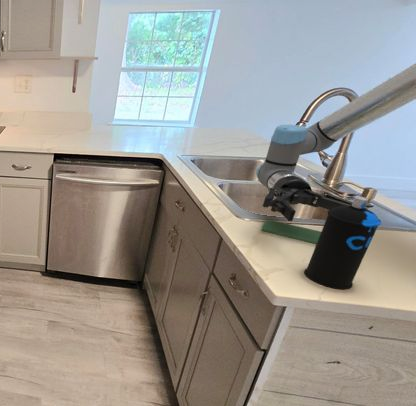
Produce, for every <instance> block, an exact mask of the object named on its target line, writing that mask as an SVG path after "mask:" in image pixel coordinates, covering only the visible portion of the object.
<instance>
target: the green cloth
mask: <svg viewBox="0 0 416 406" xmlns="http://www.w3.org/2000/svg"><path fill="white" fill-rule="evenodd" d="M260 230H261V232H265V233H269V234H274V235H278V236H282V237H285V238H289V239H294V240H299V241H302V242H307V243H311V244H314V245H316V244H317V242H318V239H319V237H320V234H321V231H322V230H321V231H320V230H315V229H311V228H307V227H303V226H299V225H294V224H289V223H285V222H282V221H277V220H272V219H268V218H266V219H265V220H264V223H263V224H262V227H261V229H260Z"/></svg>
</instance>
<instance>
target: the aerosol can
mask: <svg viewBox="0 0 416 406" xmlns="http://www.w3.org/2000/svg"><path fill="white" fill-rule="evenodd" d="M368 201H369V198H366V197H364V196H354V198H353V201H352V202H353V203H352V205H350V206H349V205H346V206H339V207H336V208H333V209H330V210H327V217H326V219H325V221H324V224H323V227H322V229H321V234H320V237H319V239H318V242H317V244H315V247H314V250H313V252H312V255H311V257H310V260H309V262H308V265H307V266H306V268H305V269H304V275H305V276H306V278H308V279H309V280H310V281H312V282H314V283H316V284H319V285H321V286H324V287H327V288H331V289H336V290H348V289H351V288H352V287H353V281H354V279H355V277H356V275H357V273H358V270H359V269H360V267H361V264H362V262H363V259H364V258H365V255H366V253H367V251H368V249H369V247H370V244H371V242H372V240H373V237H374V236H375V233H376V231H377V229H378V227H379V226H381V225H382V221H381V219H380V218H379V217H378V216H377V214H376V213H374V212H373V211H371V210H369V209H367V208H366V205H367V204H368Z"/></svg>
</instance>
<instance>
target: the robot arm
mask: <svg viewBox="0 0 416 406" xmlns="http://www.w3.org/2000/svg"><path fill="white" fill-rule="evenodd" d="M415 100H416V62H415V63H414V64H412V65H410V66H408V67H406V68H405V69H404V70H402V71H400V72H398V73H396V74H395V75H394V76H392V77H390V78H389V79H387V80H385V81H383V82H382V83H380V84H378V85H376V86H375V87H373V88H372V89H370V90H369V91H367V92H365V93H363V94H361V95H360V96H358V97H357V98H355V99H354V100H352V101H350V102H348V103H347V104H344V105H343V106H342V107H340V108H339V109H336V110H335V111H333V112H332V113H330V114H328V115H327V116H325V117H324V118H322V119H320V120H319V121H317V122H315V123H313V124H312V125H310V126H309V127H306V126H303V125H298V124H279V125H277V126H276V127H275V129H274V132H273V134H272V136H271V138H270V143H269V146H268V150H267V153H266V156H265V160H264V162H262V163H261V164H260V165H259V166H258V167H257V169H256V173H255V175H256V178H257V180H258V181H259V183H260V184H262V185H263V186H264V187H266V188H267V189H268V190H267V193H266V196H265V197H264V200H263V204H262V207H263V208H269V207H271V208H270V212H273V213H277V212H278V213H280V214H281V215H282V216H283V217H284V218H285V220H287V221H288V222H293V220H294V218H295V216H296V212H297V211H296V210H295V209H294V208H293V207H292V206H291V205H294V206H295V205H298V204H300V205H304V206H310V207H313V208H322V209H326V210H327V211H329V210H330V209H333V208H336V207H339V206H346V205H349V206H350V205H352V203H353V201H351V200H348V199H344V198H342V197H340V196H336V195H334V194H333V193H330V192H328V191H324V192H323V194H322V193H319V192H316V191H313V188H312V187H311V184H310V183H309V182H307V181H306V180H305V179H303V178H302V177H301V176H300V175H298V174H297V173H295V170H296V167H297V164H298V162H299V159H300V156H303V155H308V154H313V153H319V152H323V151H325V150H327V149H329V148H332V146H333V145H334V144H335V143H336V142H338V141H340V140H342V139H343V138H345V137H347V136H349V135H350V134H353V133H355V132H357V131H358V130H360V129H362V128H364V127H366V126H368V125H369V124H372V123H373V122H375V121H377V120H380V119H382V118H383V117H385V116H387V115H389V114H391V113H392V112H395V111H396V110H398V109H400V108H402V107H404V106H406V105H407V104H409V103H412V102H413V101H415Z"/></svg>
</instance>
